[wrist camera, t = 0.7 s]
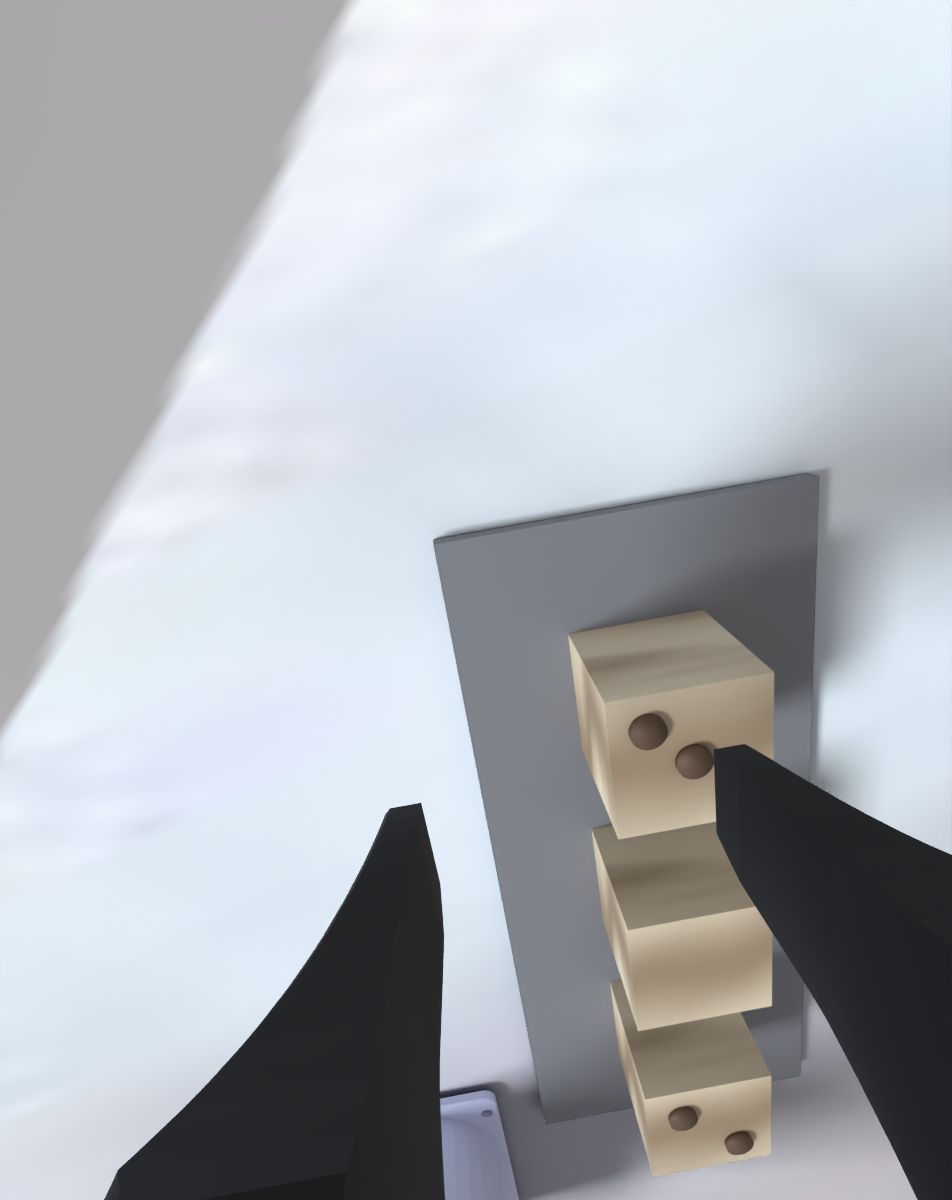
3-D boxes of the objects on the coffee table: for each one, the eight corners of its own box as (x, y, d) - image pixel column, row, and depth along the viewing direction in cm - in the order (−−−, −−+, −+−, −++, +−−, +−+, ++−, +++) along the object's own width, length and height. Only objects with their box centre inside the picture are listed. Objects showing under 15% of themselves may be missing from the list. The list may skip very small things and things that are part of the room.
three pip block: (707, 727, 22) (777, 816, 18) (581, 750, 22) (620, 844, 18) (703, 609, 21) (778, 675, 16) (568, 634, 21) (606, 706, 16)
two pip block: (719, 1035, 28) (773, 1161, 24) (618, 1054, 28) (654, 1183, 23) (716, 962, 26) (774, 1081, 22) (610, 982, 26) (647, 1105, 22)
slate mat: (793, 1062, 30) (800, 1075, 29) (543, 1109, 30) (545, 1124, 29) (807, 472, 20) (818, 476, 19) (433, 539, 20) (433, 544, 19)
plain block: (713, 898, 25) (771, 1005, 21) (602, 919, 25) (638, 1031, 21) (710, 807, 24) (772, 903, 19) (591, 828, 23) (627, 930, 19)
